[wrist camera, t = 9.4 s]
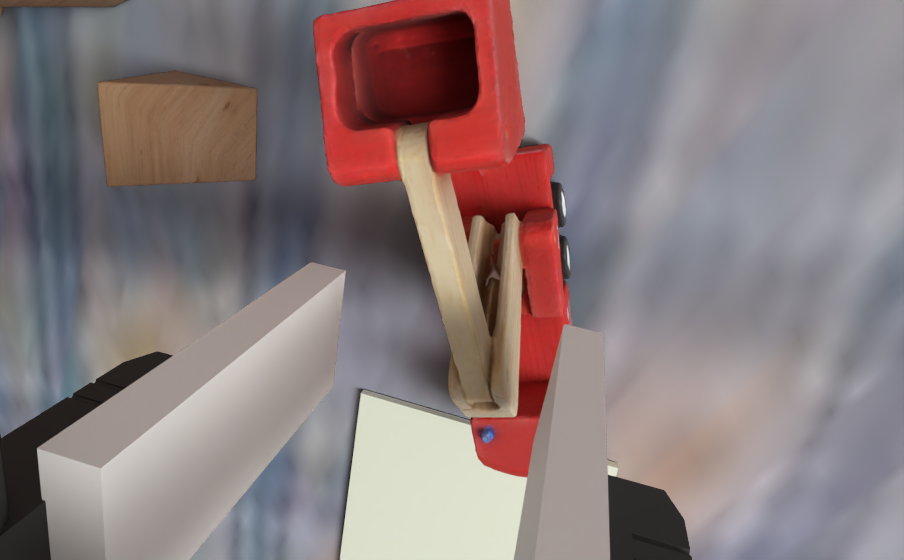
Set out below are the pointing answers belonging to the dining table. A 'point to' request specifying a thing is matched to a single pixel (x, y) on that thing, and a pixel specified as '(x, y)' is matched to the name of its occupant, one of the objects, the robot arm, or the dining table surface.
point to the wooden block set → (171, 123)
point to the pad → (426, 489)
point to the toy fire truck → (459, 193)
